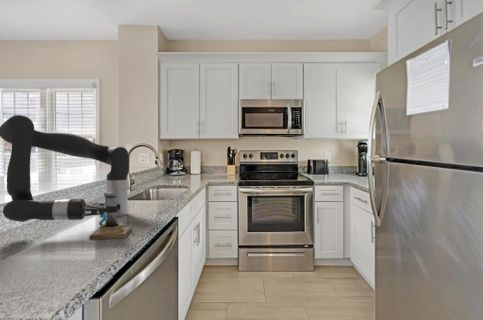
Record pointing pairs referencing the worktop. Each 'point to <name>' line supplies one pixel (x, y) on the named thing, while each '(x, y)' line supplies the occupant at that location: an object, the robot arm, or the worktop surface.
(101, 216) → the blue irregular figure
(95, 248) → the worktop surface
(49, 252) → the worktop surface
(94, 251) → the worktop surface
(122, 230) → the stand
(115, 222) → the pin
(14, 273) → the worktop surface
